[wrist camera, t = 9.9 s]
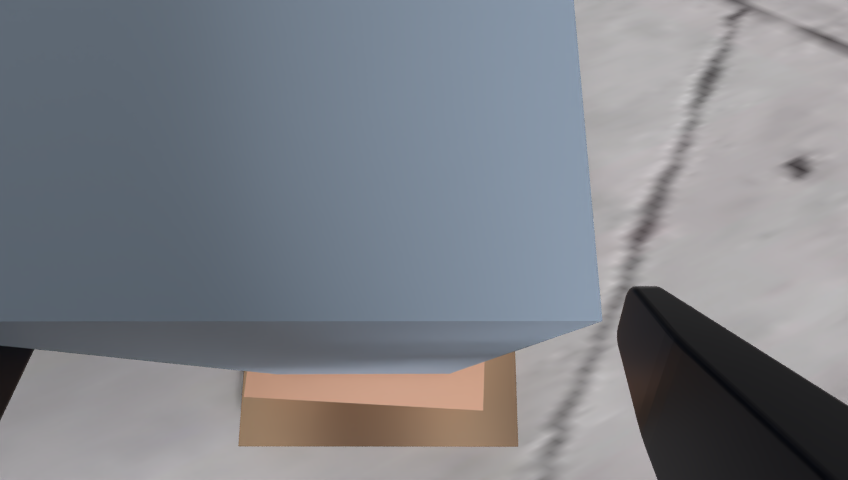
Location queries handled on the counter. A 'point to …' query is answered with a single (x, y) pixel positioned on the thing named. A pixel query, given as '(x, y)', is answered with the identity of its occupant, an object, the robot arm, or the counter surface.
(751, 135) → the counter surface
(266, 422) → the walnut block
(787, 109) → the counter surface
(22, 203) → the slate blue block
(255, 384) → the terracotta block
